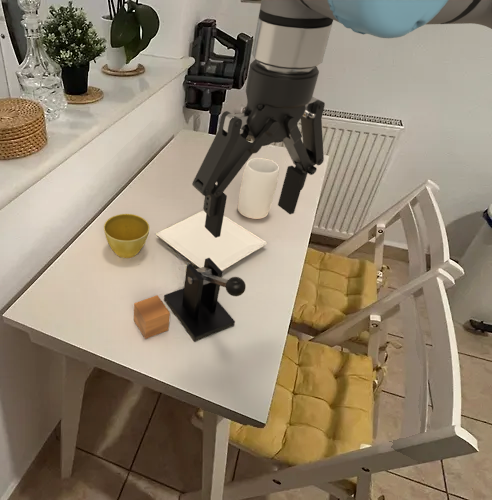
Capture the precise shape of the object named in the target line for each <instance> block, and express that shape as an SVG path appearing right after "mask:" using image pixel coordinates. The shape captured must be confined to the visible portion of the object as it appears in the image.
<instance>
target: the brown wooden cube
mask: <svg viewBox="0 0 492 500" xmlns="http://www.w3.org/2000/svg"><path fill="white" fill-rule="evenodd" d="M170 318H171V311H170V310H169V309H168V307H167V306H166V305H165V303H164V302H163V300H162V299H161V298H160V296H159V295H158V294H156V295H153V296H151V297H147V298H145V299H142V300H139V301H136V302H134V303H133V322H134V323H135V326H137V328H138V330H139V331H140V333H141V335H142V336H143V338H144V339H145V340H146V339H150V338H152V337H155V336H158V335H159V334H163V333H164V332H168V331H169V328H170Z"/></svg>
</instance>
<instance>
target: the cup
mask: <svg viewBox="0 0 492 500" xmlns="http://www.w3.org/2000/svg"><path fill="white" fill-rule="evenodd" d="M244 166H245V167H244V170H243V174H242V177H241V181H240V188H239V194H238V200H237V211H238V213H239V214H240V215H242V216H244V217H245V218H248V219H253V220H256V219H258V220H259V219H264V218H265V217H267V216H268V215H269V213H270V210H271V206H272V203H273V200H274V197H275V193H276V189H277V186H278V182H279V181H278V180H279V175H280V169H281V167H280V166H279V163H277V162H276V161H274V160H272V159H269V158H265V157H254V158H250V159H248V160H247V162H246V163H245V165H244Z"/></svg>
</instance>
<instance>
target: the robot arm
mask: <svg viewBox="0 0 492 500" xmlns="http://www.w3.org/2000/svg"><path fill="white" fill-rule="evenodd" d="M258 12H259V13H258V18H257V22H256V29H255V34H254V40H253V45H252V46H253V47H252V52H251V55H252V57H253V59H254V60H253V61H252V62H250V64H249V68H248V75H247V79H246V85H245V94H246V95H245V96H246V100H247V101H246V102H247V103H246V105H245V107H244V110H243V111H242V113H231V111H228V110H226V111H223V112H222V114H221V116H220V120H219V126H218V130H217V131H216V133H215V136H214V138H213V141H212V143H211V144H210V146H209V149H208V150H207V152H206V154H205V157H204V159H203V160H202V163H201V165H200V167H199V169H198V171H197V173H196V175H195V177H194V178H193V181H192V184H191V185H192V186H193V188H195V189H196V191H198V192H199V193H200V194H201V195H202V196H203V197H204V200H203V206H202V207H203V209H202V210H204V212H206V213H207V214H206V221H205V228H206V229H207V230H208V231H209V232H210V233H211V234H212V235H213V236H214V237H215V238H217V237H220V234H221V228H222V222H223V216H225V209H226V204H227V199H228V196H227V194H226V193H225V191H226V189H227V188H228V186H229V185H230V184H231V183H232V182H233V180H234V179H235V177H236V176H237V175H238V173H239V172H240V171H241V170H242V168H243V167H244V166H245V165H246V163H247V162H248V161H249V160H250V159H251V157H252V155H254V154H257V153H258V152H259V151H260V150H261V149H262V147H265V146H269V145H271V144H273V143H277V144H278V143H279V144H280V143H283V144H284V147H285V149H286V152H287V153H288V156H289V157H290V159H291V161H292V163H293V165H288V166H287V169H286V172H285V176H284V178H283V184H282V187H281V190H280V191H281V192H280V195H279V198H278V202H277V206H278V207H279V208H280V209H282V210H284V212H286V213H287V214H288V215H293V214H295V211H296V207H297V204H298V202H299V201H298V200H299V198H300V194H301V192H302V190H303V188H304V186H305V183H306V181H307V177H308V175H310V176H312V175H314V174H315V173H316V172H317V170H318V169H317V167H316V166H321V165H322V164H323V163H324V161H325V157H324V156H325V155H324V141H323V139H324V138H323V122H322V118H323V114H324V109H325V105H326V104H325V102H324V101H323V100H320V99H318V98H316V97H314V92H315V89H316V85H317V82H318V78H319V74H320V70H319V69H318V66H320V65H321V64H322V63H323V61H324V57H325V53H326V49H327V46H328V41H329V38H330V34H331V32H332V31H331V30H332V27H333V23H334V21H335V22H337V23H339V24H341V25H342V26H343V27H344V28H346V29H350V30H351V31H352V32H354V33H356V34H360V35H370V36H373V37H377V38H380V39H397V38H401V37H404V36H406V35H408V34H410V33H412V32H414V31H415V30H417V29H419V28H420V27H423V26H425V25H461V24H463V25H465V24H468V25H469V24H472V25H473V24H474V25H480V26H484V27H487V28H489V29H491V30H492V0H260V7H259V11H258ZM299 121H300V126H301V129H300V128H299V126H298V123H299ZM300 130H301V131H300ZM248 137H249V139H251V141H249V140H247V138H248ZM315 165H316V166H315ZM216 183H217V184H216Z"/></svg>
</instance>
